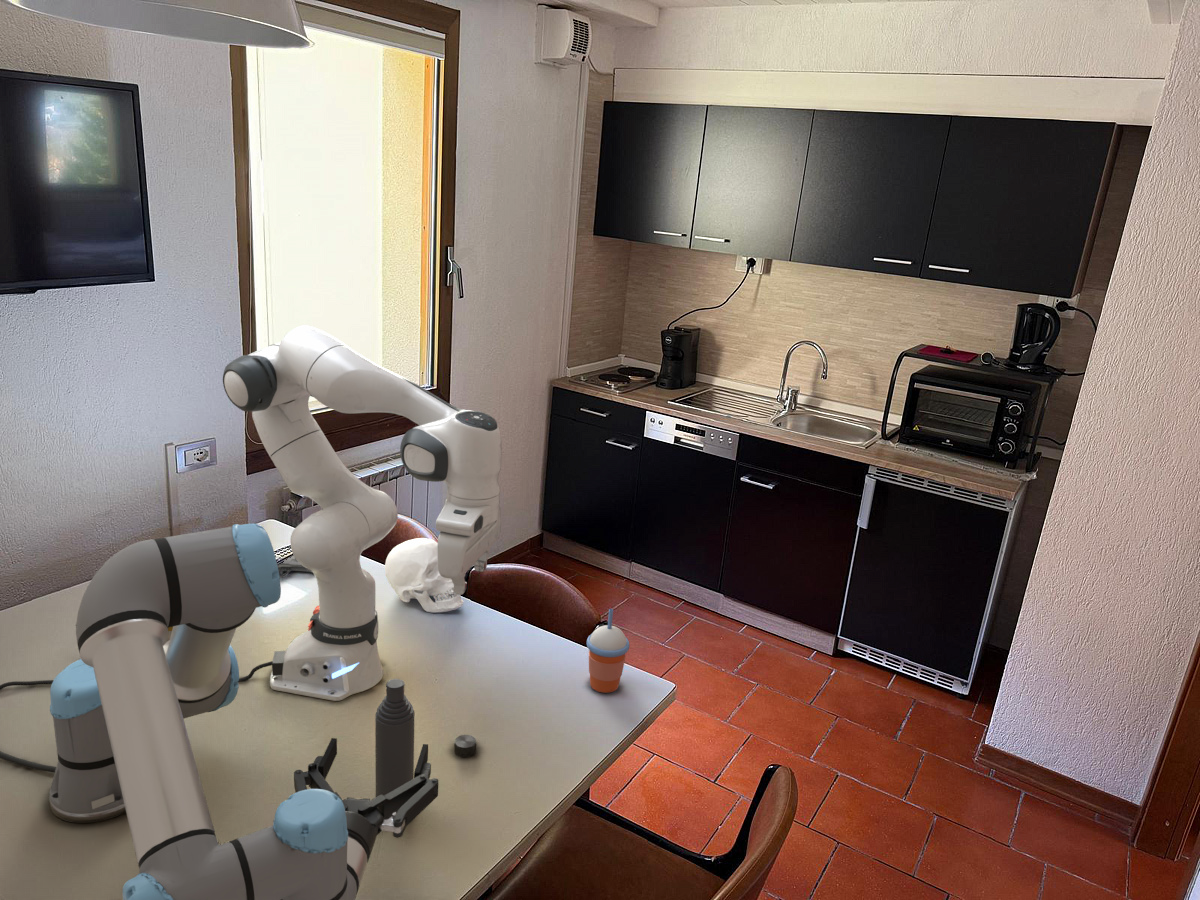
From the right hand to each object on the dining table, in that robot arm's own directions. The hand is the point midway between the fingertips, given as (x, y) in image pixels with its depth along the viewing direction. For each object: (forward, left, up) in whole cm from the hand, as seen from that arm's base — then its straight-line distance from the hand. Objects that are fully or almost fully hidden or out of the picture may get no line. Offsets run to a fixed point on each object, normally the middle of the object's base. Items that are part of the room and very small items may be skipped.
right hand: (470, 580), depth 149 cm
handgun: (-55, +66, -35) cm, 93 cm away
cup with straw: (+27, +24, -35) cm, 50 cm away
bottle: (-10, -16, -35) cm, 40 cm away
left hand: (-10, -26, -15) cm, 32 cm away
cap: (0, 0, -33) cm, 33 cm away
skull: (-18, +57, -35) cm, 69 cm away
